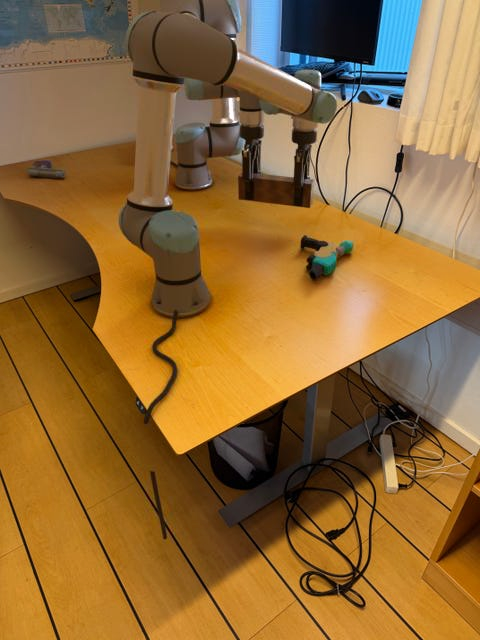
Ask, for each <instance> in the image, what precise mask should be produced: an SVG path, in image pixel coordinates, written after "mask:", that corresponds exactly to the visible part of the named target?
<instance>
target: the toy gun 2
mask: <svg viewBox="0 0 480 640" xmlns="http://www.w3.org/2000/svg"><path fill="white" fill-rule="evenodd" d="M354 246H355V244H354V242H353V241H352V240H343V241H342V242H340V244H339V245H337V243H335V242H332V241H325V240H319V239H316V238H312V237H308V235H306V234H304V235H303V236H301V238H300V244H299V248H300V249H301V250H305V249H306V248H307V249H312V250H314V252H313V253H311V254H309V256H308V257H307V258H306V262H307V264H306V266H305V269H306V270H307V272H308V276H309V278H310V279H311V280H312V281H313V282H316V281H317V280H318V279H319V278H321V277H322V274H323V275H325V276H329V275H330V274H333V272H335V270H336V268H337V266H338V264H337V259H338V258H340V257H341V256H342V257H343V255H347V254H350V253H351V252H352V251H353V249H354Z"/></svg>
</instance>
